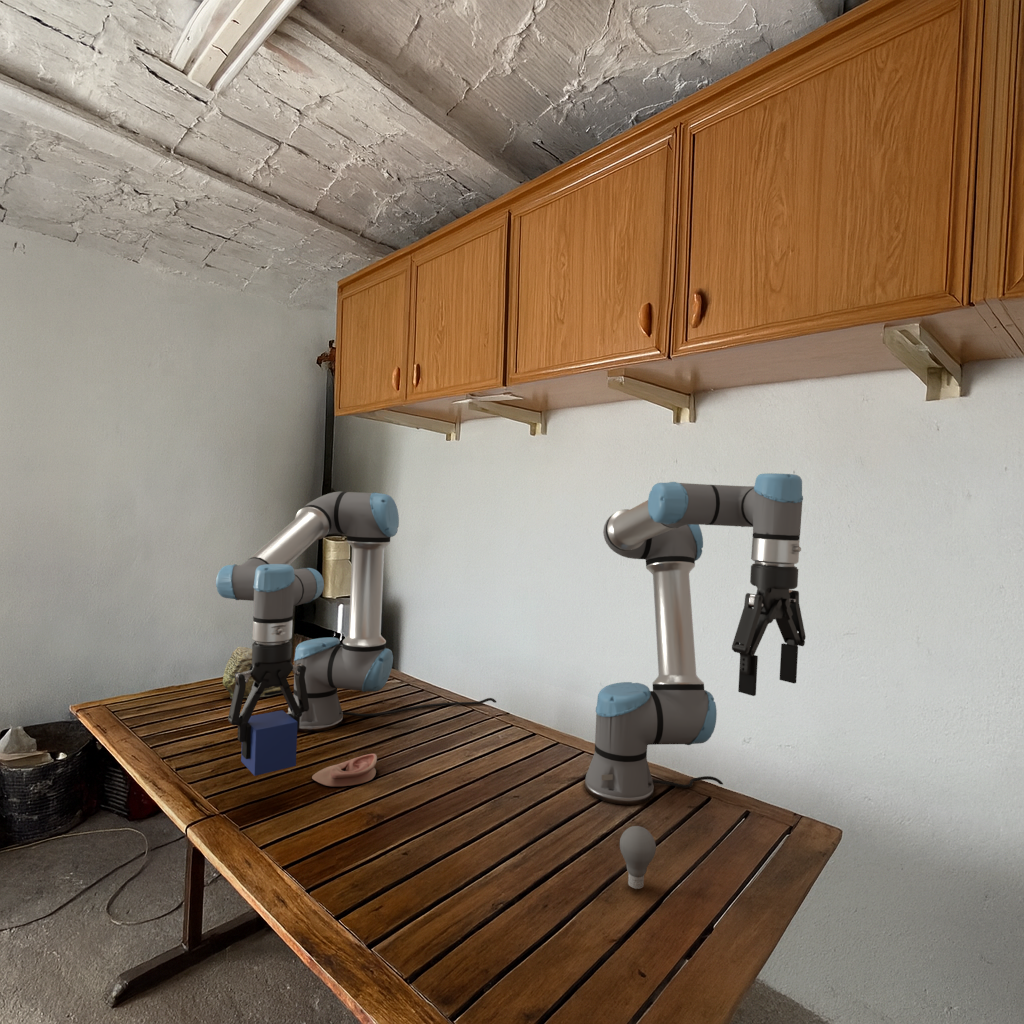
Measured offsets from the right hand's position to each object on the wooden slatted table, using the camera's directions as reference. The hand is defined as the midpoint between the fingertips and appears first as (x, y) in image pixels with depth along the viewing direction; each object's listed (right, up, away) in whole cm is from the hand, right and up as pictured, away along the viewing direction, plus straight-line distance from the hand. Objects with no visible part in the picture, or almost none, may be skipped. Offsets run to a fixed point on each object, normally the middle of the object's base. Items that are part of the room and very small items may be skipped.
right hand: (768, 687), depth 109 cm
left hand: (-94, -19, +20) cm, 98 cm away
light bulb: (-23, -33, -2) cm, 41 cm away
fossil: (-125, -27, +89) cm, 156 cm away
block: (-94, -21, +20) cm, 98 cm away
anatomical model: (-82, -30, +35) cm, 94 cm away
